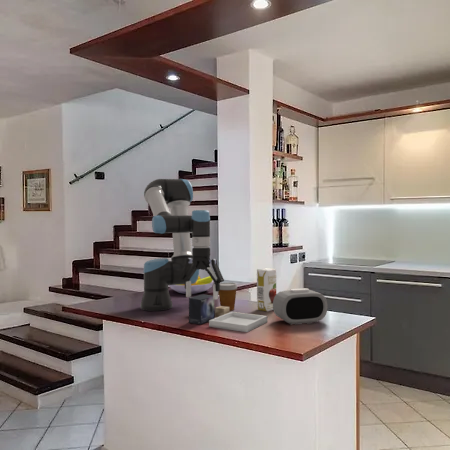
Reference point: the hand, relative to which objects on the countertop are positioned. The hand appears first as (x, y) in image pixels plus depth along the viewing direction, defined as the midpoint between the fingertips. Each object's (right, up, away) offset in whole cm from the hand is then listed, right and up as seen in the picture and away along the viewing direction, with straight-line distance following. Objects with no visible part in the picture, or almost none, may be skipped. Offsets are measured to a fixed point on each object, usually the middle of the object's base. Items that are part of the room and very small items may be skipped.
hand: (201, 298), depth 184 cm
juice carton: (+29, -9, +22) cm, 38 cm away
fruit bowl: (-9, -8, +70) cm, 71 cm away
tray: (+15, -10, -5) cm, 19 cm away
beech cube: (+9, -10, +7) cm, 15 cm away
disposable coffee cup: (+11, -9, +23) cm, 27 cm away
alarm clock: (+41, -10, -1) cm, 42 cm away
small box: (0, -10, +1) cm, 10 cm away
